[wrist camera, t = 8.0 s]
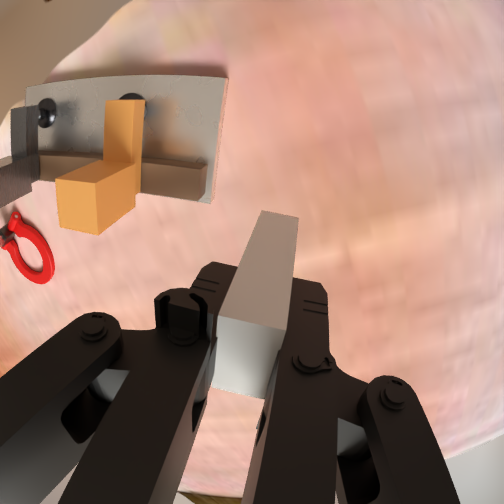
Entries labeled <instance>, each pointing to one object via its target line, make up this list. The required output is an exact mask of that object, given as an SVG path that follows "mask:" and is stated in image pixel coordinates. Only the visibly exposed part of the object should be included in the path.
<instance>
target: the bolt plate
mask: <svg viewBox="0 0 504 504" xmlns="http://www.w3.org/2000/svg"><path fill="white" fill-rule="evenodd" d="M228 81H229V79H227V78H220V77H207V76H188V75H126V76H108V77H95V78H84V79H75V80H67V81H59V82H53V83H46V84H40V85H35V86H30V87H26V97H25V106H32V105H39V108H45V110H46V117H45V118H44V119H43V120H39V121H38V154H39V174H40V179H39V180H40V181H49V182H55V179H56V178H58V177H60V176H62V175H65V174H67V173H69V172H72V171H74V170H76V169H78V168H81V167H83V166H86V165H88V164H90V163H93V162H95V161H98V160H103V145H104V119H105V103H106V100H145V106H146V107H147V114H146V116H145V117H144V122H143V136H142V155H141V187H140V192H139V193H144V194H150V195H157V196H164V197H170V198H177V199H183V200H189V201H196V202H202V203H208V204H211V202H212V201H213V200H214V194H215V184H216V175H217V166H218V158H219V149H220V141H221V133H222V125H223V117H224V110H225V103H226V95H227V88H228Z"/></svg>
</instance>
